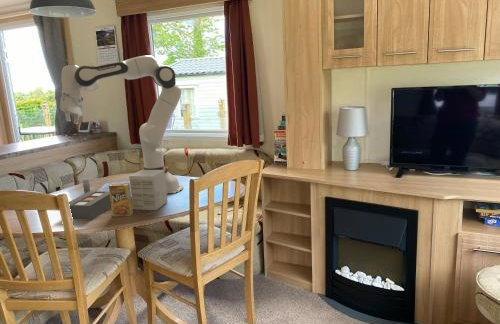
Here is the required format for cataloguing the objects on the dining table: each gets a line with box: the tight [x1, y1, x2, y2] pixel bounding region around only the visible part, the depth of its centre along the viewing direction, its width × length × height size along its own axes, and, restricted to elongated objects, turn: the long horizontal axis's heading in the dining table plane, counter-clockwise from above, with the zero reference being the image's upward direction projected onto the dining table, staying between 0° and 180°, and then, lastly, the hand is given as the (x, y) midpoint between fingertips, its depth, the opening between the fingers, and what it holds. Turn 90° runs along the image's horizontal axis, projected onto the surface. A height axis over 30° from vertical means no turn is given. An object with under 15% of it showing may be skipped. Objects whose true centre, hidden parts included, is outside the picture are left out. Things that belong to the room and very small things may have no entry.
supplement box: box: [128, 169, 168, 211], centre depth 195 cm, size 13×13×18 cm
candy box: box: [108, 182, 134, 217], centre depth 184 cm, size 9×4×15 cm, turn 89°
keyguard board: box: [68, 190, 111, 221], centre depth 192 cm, size 14×22×7 cm, turn 171°
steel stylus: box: [82, 178, 91, 194], centre depth 209 cm, size 3×3×12 cm
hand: (72, 122), depth 200 cm, fingers open, 8 cm apart
